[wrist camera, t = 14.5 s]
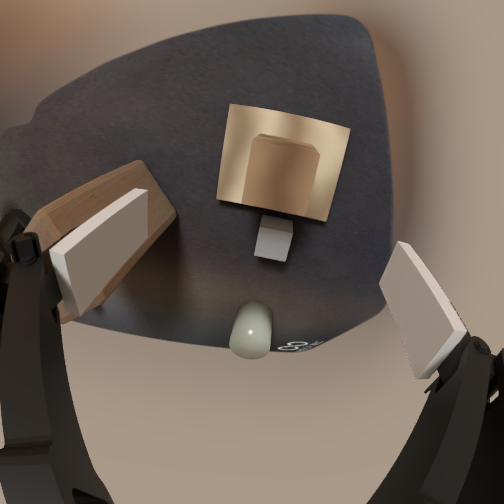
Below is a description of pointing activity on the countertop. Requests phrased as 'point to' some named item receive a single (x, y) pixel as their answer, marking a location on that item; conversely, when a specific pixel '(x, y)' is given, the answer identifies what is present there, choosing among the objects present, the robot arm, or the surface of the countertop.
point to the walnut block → (280, 174)
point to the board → (290, 127)
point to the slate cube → (274, 238)
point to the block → (93, 201)
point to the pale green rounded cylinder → (252, 330)
